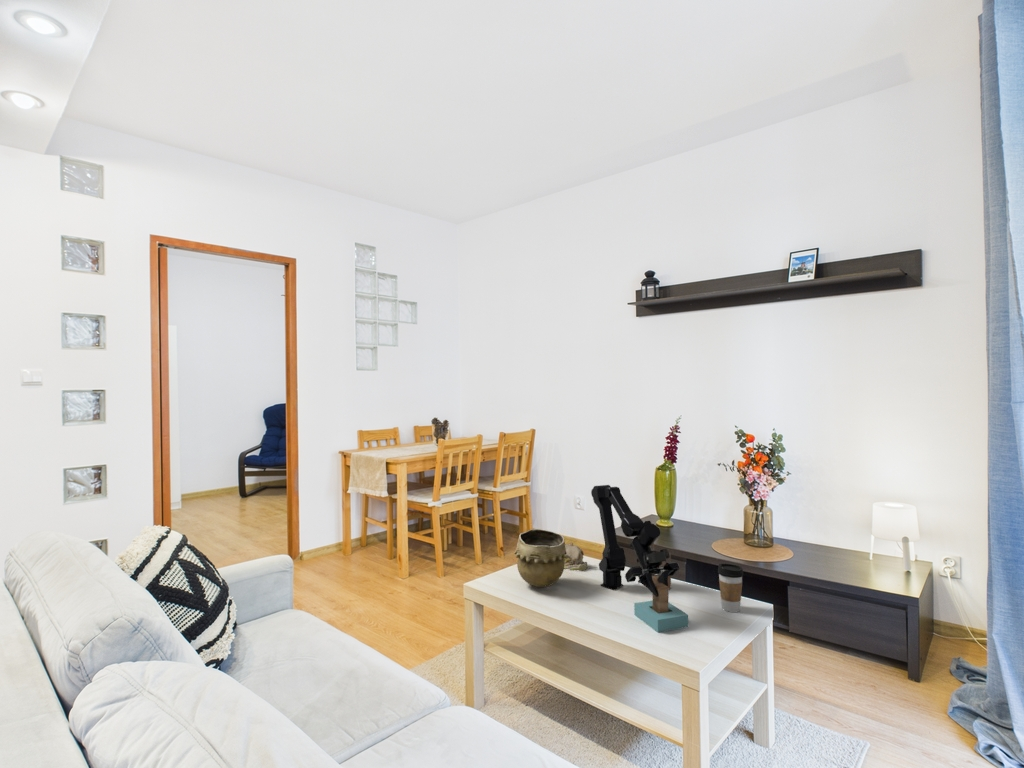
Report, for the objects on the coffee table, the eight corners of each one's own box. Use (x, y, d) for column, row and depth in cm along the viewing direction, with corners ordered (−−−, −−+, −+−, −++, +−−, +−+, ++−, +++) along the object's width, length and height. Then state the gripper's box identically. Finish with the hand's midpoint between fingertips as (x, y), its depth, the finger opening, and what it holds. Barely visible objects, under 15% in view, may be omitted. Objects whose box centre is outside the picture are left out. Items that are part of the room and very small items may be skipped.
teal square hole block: (634, 614, 188) (634, 603, 188) (663, 610, 192) (663, 598, 192) (657, 632, 175) (657, 619, 175) (688, 627, 178) (688, 614, 178)
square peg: (652, 613, 185) (652, 584, 185) (661, 612, 186) (661, 582, 186) (659, 618, 181) (659, 588, 181) (668, 617, 182) (668, 586, 182)
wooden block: (665, 590, 210) (665, 543, 210) (642, 582, 218) (642, 537, 218) (671, 588, 212) (671, 541, 212) (648, 580, 220) (648, 535, 220)
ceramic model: (551, 567, 238) (551, 543, 238) (563, 559, 247) (563, 537, 247) (580, 573, 230) (580, 549, 230) (592, 565, 239) (591, 542, 239)
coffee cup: (714, 603, 197) (714, 562, 197) (738, 603, 197) (738, 562, 196) (722, 613, 188) (722, 570, 188) (747, 613, 188) (747, 570, 188)
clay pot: (579, 586, 215) (578, 535, 215) (539, 600, 201) (539, 546, 201) (542, 572, 231) (542, 524, 231) (503, 584, 217) (503, 534, 217)
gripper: (629, 543, 184) (647, 588, 174) (676, 538, 190) (697, 580, 179) (617, 559, 191) (634, 603, 181) (663, 554, 197) (682, 596, 187)
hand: (662, 595), depth 182 cm, fingers closed on square peg, 3 cm apart
